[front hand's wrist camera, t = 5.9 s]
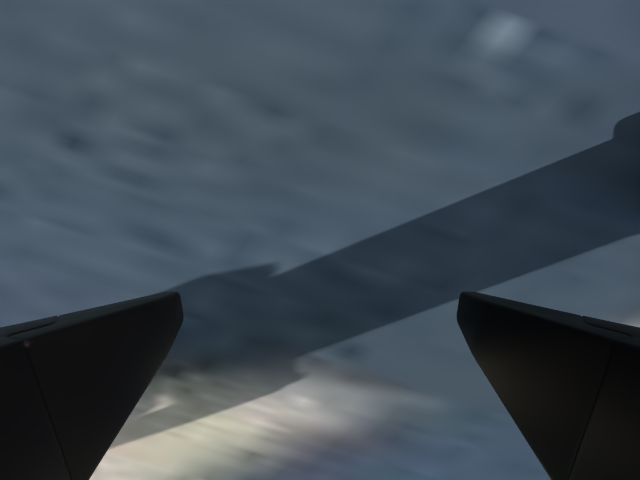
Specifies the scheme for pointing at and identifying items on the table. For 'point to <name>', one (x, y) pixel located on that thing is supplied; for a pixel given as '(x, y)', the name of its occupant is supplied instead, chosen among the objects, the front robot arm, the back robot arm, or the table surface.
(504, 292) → the table surface
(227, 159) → the table surface
